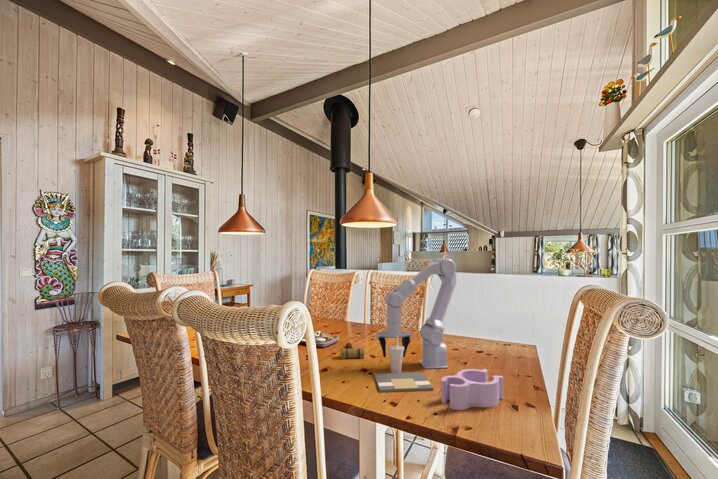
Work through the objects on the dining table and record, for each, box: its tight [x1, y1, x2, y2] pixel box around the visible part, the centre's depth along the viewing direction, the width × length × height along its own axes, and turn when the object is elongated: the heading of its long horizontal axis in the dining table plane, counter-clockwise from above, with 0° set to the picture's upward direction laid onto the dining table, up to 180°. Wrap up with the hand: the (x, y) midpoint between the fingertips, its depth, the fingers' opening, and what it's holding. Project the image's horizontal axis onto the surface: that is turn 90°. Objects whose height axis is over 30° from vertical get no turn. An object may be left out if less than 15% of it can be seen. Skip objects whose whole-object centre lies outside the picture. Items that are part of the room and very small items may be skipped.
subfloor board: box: [373, 371, 434, 393], centre depth 112 cm, size 18×14×1 cm
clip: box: [440, 368, 505, 411], centre depth 100 cm, size 20×12×7 cm, turn 114°
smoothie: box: [387, 335, 404, 373], centre depth 122 cm, size 6×6×14 cm
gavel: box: [339, 342, 365, 360], centre depth 147 cm, size 21×5×10 cm
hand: (394, 356), depth 126 cm, fingers open, 7 cm apart
